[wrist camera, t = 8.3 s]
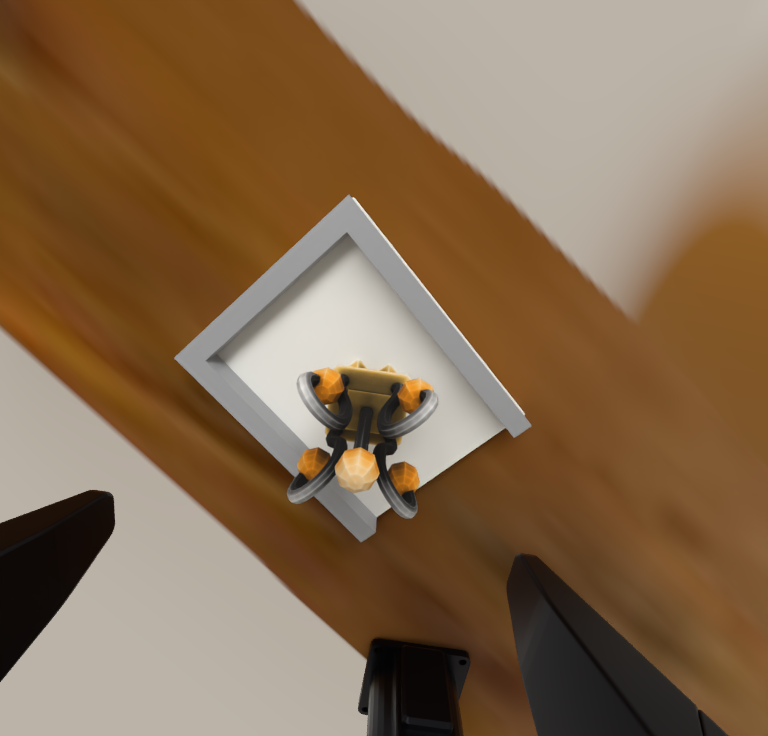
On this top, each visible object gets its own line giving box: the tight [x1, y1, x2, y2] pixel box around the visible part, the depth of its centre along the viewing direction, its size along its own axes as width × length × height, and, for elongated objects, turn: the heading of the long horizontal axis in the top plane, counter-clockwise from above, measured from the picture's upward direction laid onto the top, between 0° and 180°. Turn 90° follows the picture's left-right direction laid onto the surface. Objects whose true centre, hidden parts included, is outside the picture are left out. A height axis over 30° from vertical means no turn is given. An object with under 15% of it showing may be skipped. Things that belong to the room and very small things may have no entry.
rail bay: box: [175, 195, 532, 542], centre depth 19 cm, size 13×11×2 cm
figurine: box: [287, 360, 438, 519], centre depth 15 cm, size 5×5×8 cm
